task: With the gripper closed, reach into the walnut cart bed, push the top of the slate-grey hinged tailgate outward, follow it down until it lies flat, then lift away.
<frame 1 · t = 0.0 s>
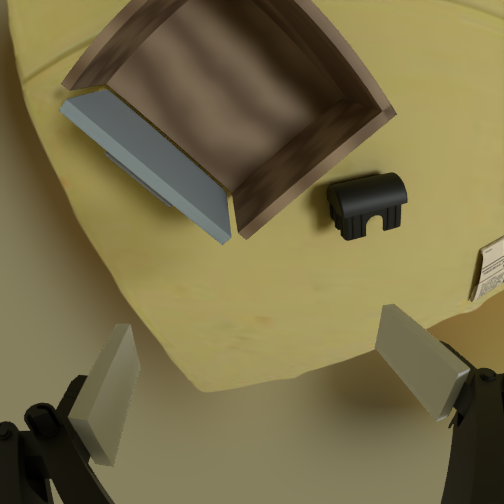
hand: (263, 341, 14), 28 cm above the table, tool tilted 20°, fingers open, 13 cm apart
tailgate: (153, 158, 28), point 8 cm above the table, hinge at 0.0°
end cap: (355, 191, 42), on the table
cart: (227, 79, 31), on the table
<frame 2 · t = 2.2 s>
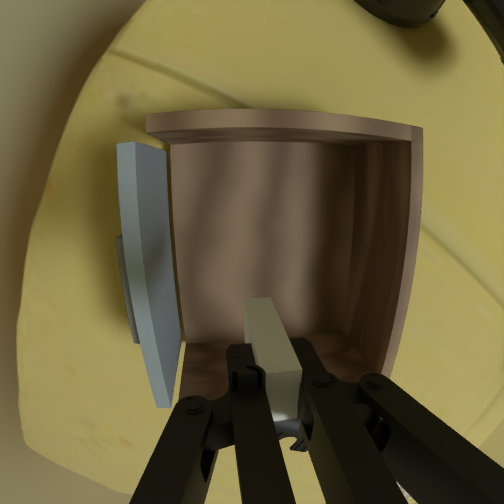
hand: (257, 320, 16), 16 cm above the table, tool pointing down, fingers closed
tailgate: (150, 272, 24), point 7 cm above the table, hinge at 0.0°
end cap: (286, 403, 39), on the table
cart: (268, 243, 32), on the table
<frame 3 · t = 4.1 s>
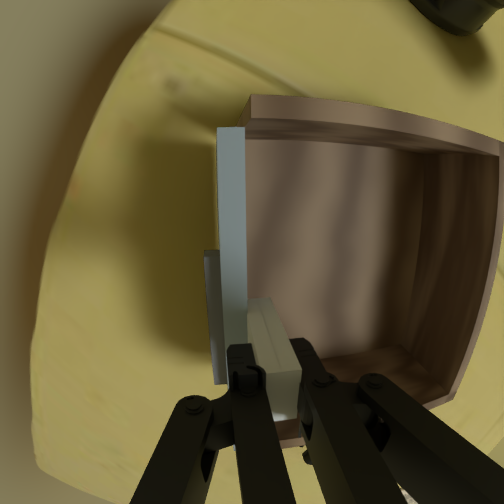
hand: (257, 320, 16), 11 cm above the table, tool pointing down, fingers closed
tailgate: (224, 294, 20), point 7 cm above the table, hinge at 0.0°, touching gripper
cart: (335, 255, 28), on the table
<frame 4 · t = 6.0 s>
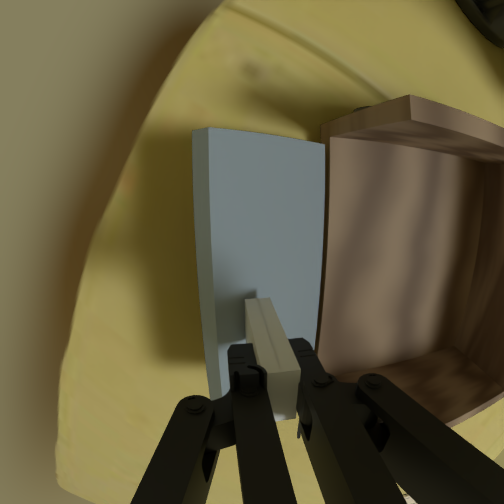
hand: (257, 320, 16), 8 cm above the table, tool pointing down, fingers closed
tailgate: (267, 294, 20), point 5 cm above the table, hinge at 48.1°, touching gripper
cart: (407, 260, 26), on the table
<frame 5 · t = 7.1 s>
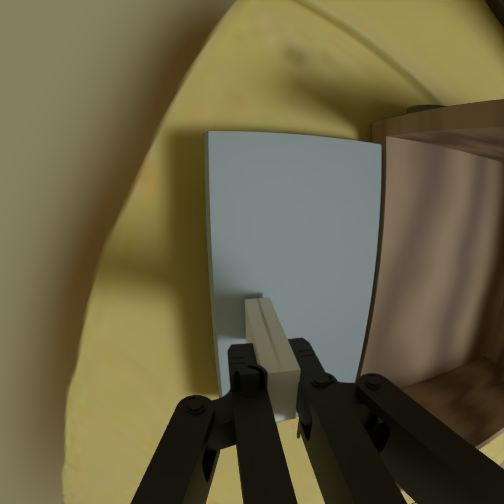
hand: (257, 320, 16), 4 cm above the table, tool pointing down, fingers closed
tailgate: (297, 300, 19), point 2 cm above the table, hinge at 77.7°, touching gripper
cart: (449, 271, 23), on the table
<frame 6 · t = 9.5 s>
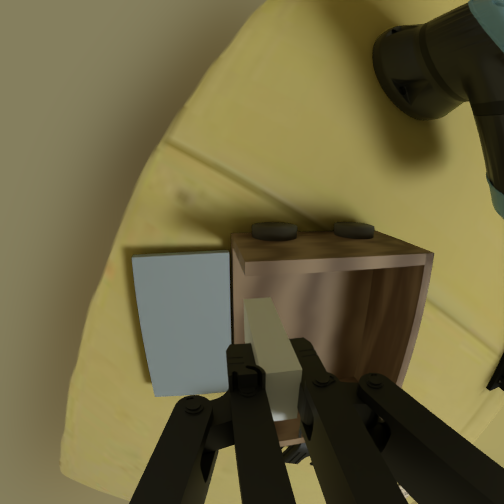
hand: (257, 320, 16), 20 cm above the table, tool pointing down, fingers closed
tailgate: (186, 330, 36), point 1 cm above the table, hinge at 86.0°
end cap: (305, 428, 46), on the table
cart: (303, 317, 39), on the table
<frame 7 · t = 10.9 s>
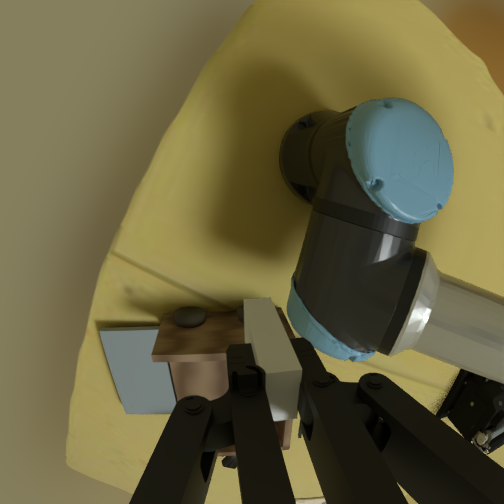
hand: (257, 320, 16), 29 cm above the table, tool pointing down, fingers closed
tailgate: (141, 374, 48), point 1 cm above the table, hinge at 86.0°
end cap: (244, 442, 58), on the table
typewriter: (481, 373, 67), on the table
newspaper: (330, 502, 76), on the table
cart: (225, 368, 51), on the table
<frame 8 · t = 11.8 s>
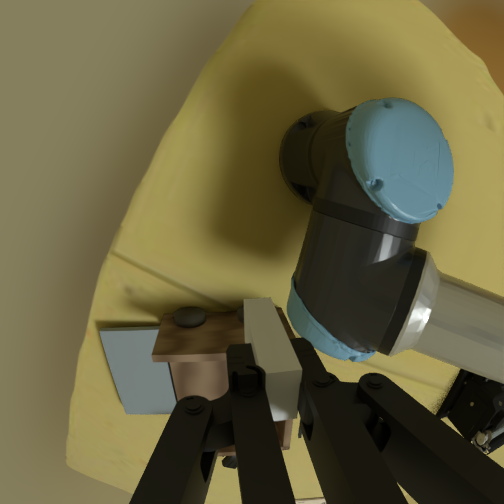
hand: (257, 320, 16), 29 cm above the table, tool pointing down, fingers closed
tailgate: (141, 374, 48), point 1 cm above the table, hinge at 86.0°
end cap: (245, 442, 58), on the table
typewriter: (481, 373, 67), on the table
newspaper: (329, 502, 76), on the table
cart: (225, 368, 51), on the table
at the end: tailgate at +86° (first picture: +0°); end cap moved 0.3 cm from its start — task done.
